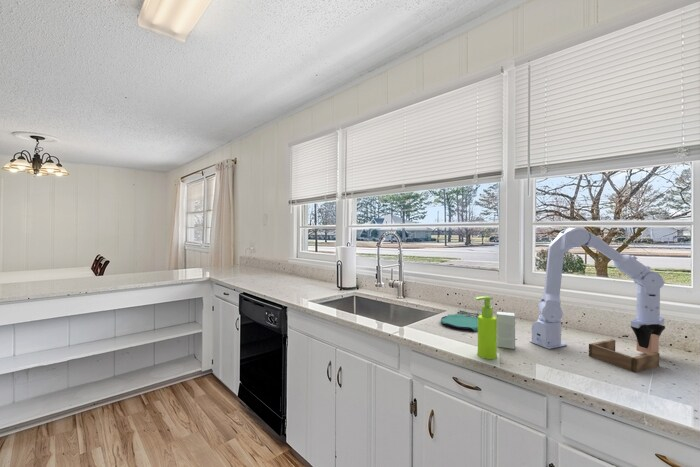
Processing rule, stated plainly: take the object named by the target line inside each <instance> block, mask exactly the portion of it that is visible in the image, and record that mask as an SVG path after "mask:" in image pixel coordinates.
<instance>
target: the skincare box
mask: <svg viewBox="0 0 700 467" xmlns="http://www.w3.org/2000/svg"><path fill="white" fill-rule="evenodd" d="M496 318H497V348H505V349H514V350H515V349H516V315H515V313H514V312H504V311H496Z"/></svg>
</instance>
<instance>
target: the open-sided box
mask: <svg viewBox="0 0 700 467" xmlns="http://www.w3.org/2000/svg"><path fill="white" fill-rule="evenodd" d="M588 356H589V357H590V358H594V359H597V360H600V361H602V362H606V363H608V364H610V365H614V366H616V367H619V368H621V369H624V370H627V371H630V372H633V373H637V372H641V371H642V372H643V371H646V370H649V369H654V368H657V367H660V353H657V352H654V353H650V354H646V353H644V354H642V355H638V356H631V355H627V354H624V353H621V352H619V351H616V339H612V338H611V339H606V340H601V341H597V342H591V343H588Z"/></svg>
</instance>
